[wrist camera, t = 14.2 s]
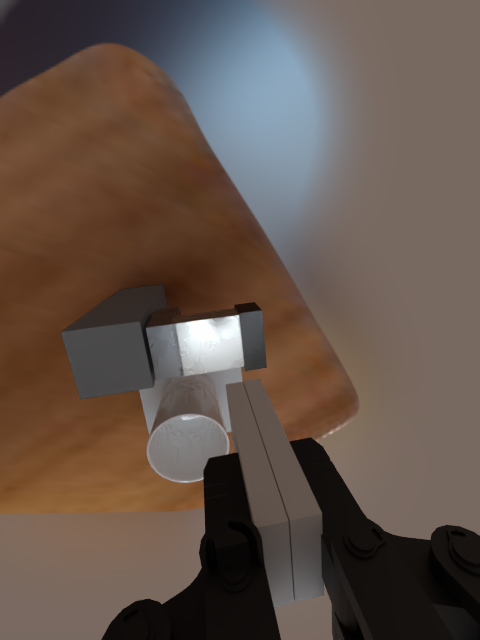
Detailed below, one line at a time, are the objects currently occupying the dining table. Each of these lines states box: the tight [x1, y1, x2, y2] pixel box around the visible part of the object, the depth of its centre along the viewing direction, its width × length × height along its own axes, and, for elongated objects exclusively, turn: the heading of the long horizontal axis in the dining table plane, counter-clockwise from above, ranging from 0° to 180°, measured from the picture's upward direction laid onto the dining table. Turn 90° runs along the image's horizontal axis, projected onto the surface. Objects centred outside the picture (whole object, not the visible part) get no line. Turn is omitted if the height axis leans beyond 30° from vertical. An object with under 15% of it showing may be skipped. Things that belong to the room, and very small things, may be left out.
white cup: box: [147, 374, 229, 483], centre depth 33 cm, size 8×8×10 cm
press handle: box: [146, 302, 267, 381], centre depth 23 cm, size 8×4×5 cm, turn 96°
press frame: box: [61, 284, 242, 436], centre depth 30 cm, size 13×21×16 cm, turn 6°
